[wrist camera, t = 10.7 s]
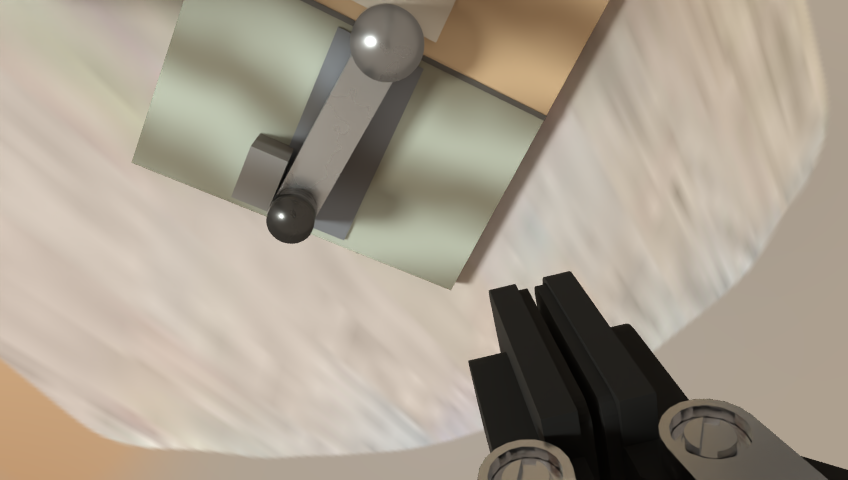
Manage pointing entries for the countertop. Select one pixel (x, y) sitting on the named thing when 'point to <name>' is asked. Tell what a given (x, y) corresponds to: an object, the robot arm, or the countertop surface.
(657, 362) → the robot arm
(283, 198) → the arm
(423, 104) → the lock board
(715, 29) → the countertop surface
